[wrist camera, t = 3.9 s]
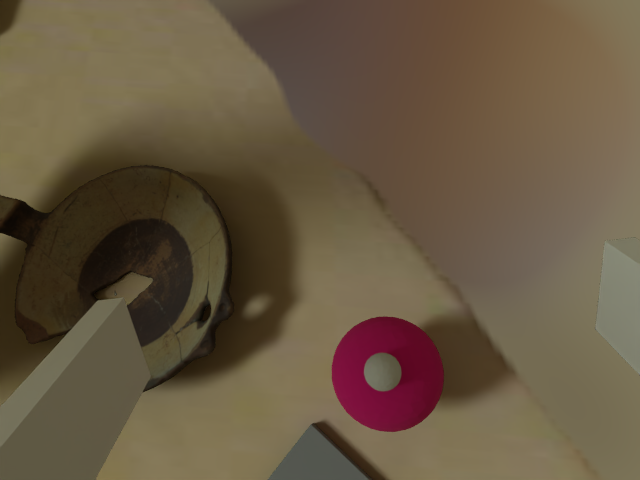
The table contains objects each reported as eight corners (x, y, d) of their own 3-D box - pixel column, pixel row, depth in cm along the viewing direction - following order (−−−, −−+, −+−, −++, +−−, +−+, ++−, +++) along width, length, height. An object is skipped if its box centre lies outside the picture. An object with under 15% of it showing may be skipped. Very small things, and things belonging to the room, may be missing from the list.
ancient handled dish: (125, 456, 42) (66, 473, 35) (-9, 240, 53) (-77, 218, 45) (300, 290, 44) (277, 273, 36) (135, 110, 54) (92, 69, 47)
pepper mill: (453, 403, 38) (490, 430, 19) (371, 428, 39) (329, 478, 20) (422, 320, 41) (428, 273, 22) (345, 345, 41) (287, 320, 22)
